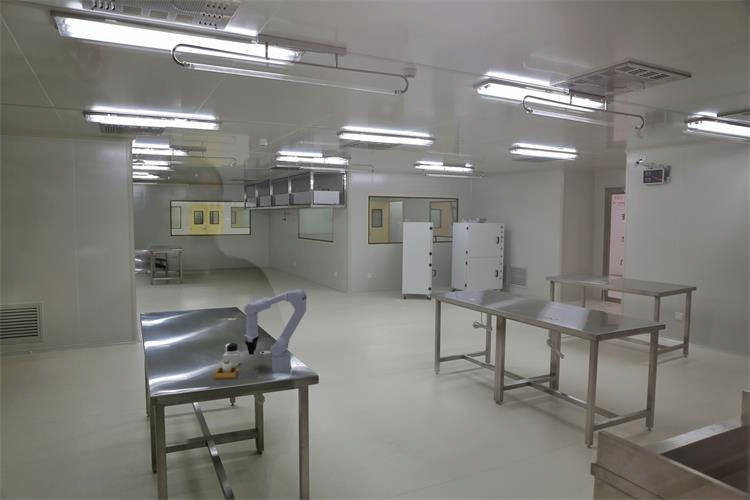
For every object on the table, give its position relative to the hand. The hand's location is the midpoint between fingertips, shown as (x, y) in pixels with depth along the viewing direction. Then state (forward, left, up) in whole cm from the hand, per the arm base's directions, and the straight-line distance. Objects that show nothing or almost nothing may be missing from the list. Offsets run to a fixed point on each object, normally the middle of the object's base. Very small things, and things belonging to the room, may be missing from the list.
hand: (252, 352), depth 248 cm
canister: (+11, +10, -8) cm, 17 cm away
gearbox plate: (+6, +10, -9) cm, 15 cm away
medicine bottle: (+12, -8, -10) cm, 17 cm away
